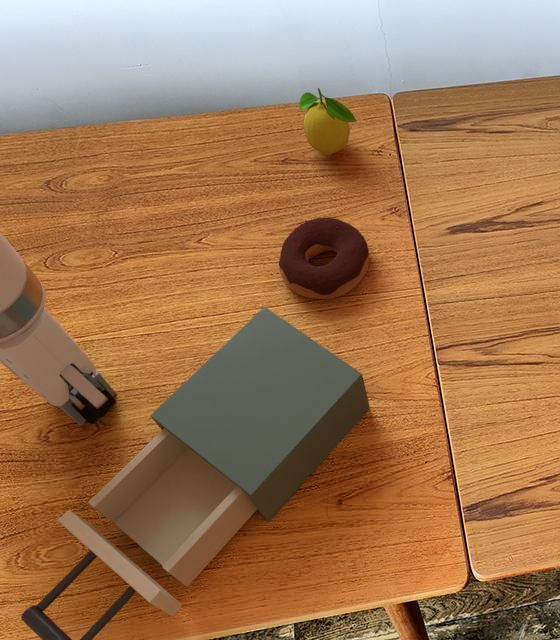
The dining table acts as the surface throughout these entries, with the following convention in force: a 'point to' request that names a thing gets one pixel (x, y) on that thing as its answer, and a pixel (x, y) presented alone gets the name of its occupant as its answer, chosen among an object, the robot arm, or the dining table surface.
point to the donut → (332, 276)
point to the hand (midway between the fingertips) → (81, 394)
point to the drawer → (154, 526)
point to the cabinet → (266, 409)
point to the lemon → (325, 123)
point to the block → (67, 406)
